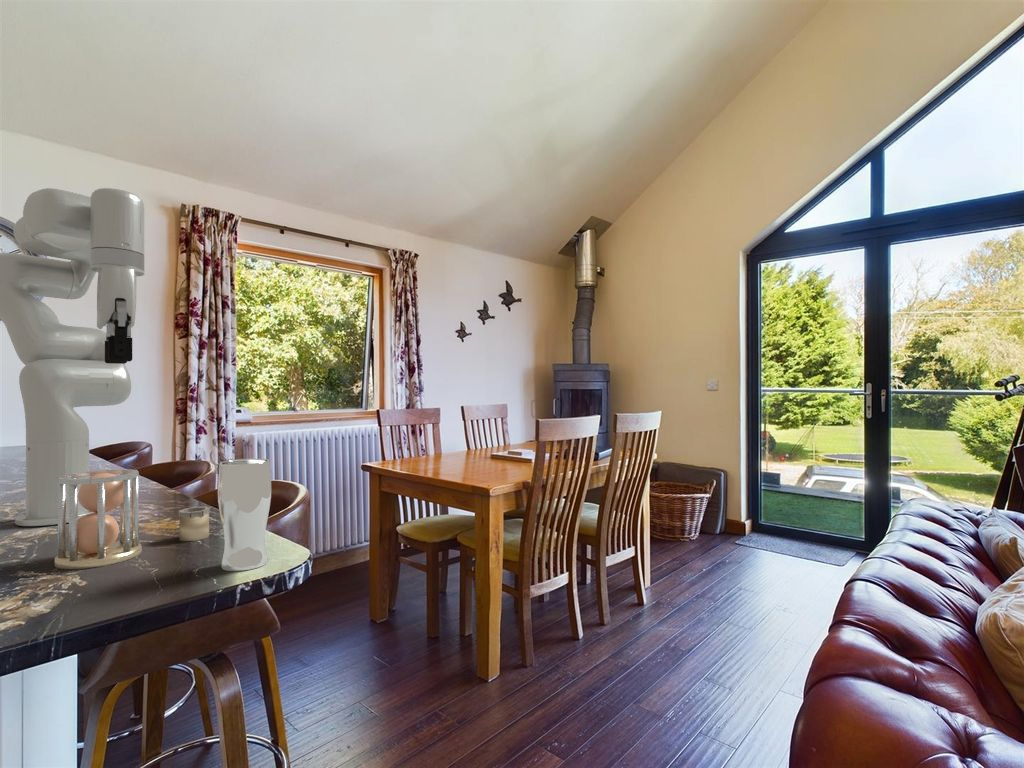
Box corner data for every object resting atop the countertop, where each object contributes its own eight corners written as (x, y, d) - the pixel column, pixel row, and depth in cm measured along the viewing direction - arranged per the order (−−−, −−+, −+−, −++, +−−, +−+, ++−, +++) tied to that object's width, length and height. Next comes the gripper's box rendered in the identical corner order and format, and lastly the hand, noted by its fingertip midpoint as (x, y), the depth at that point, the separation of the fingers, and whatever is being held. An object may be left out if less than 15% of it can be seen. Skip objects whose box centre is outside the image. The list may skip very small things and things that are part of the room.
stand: (177, 537, 91) (177, 509, 92) (206, 532, 94) (206, 505, 94) (181, 542, 88) (181, 513, 88) (211, 537, 91) (211, 509, 91)
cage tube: (55, 556, 81) (55, 473, 81) (137, 543, 88) (137, 466, 88) (54, 574, 73) (54, 482, 73) (145, 558, 80) (145, 474, 80)
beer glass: (213, 563, 78) (213, 461, 78) (264, 553, 82) (263, 457, 82) (224, 576, 72) (223, 466, 72) (277, 565, 77) (277, 461, 77)
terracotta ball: (63, 510, 79) (89, 481, 84) (106, 526, 82) (128, 497, 86) (73, 487, 77) (99, 459, 82) (117, 504, 79) (140, 475, 84)
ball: (73, 549, 81) (62, 515, 79) (121, 534, 85) (111, 500, 83) (75, 567, 76) (63, 531, 75) (125, 550, 80) (115, 515, 78)
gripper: (88, 269, 96) (88, 363, 96) (92, 250, 83) (92, 359, 83) (139, 275, 101) (139, 364, 101) (150, 257, 88) (150, 360, 88)
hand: (118, 362), depth 92 cm, fingers open, 9 cm apart
